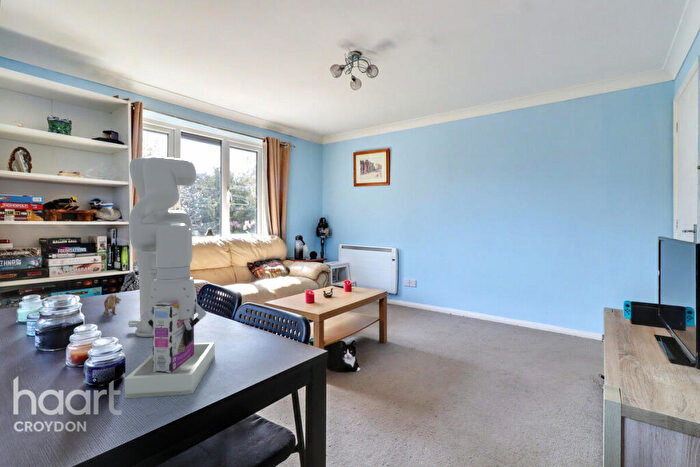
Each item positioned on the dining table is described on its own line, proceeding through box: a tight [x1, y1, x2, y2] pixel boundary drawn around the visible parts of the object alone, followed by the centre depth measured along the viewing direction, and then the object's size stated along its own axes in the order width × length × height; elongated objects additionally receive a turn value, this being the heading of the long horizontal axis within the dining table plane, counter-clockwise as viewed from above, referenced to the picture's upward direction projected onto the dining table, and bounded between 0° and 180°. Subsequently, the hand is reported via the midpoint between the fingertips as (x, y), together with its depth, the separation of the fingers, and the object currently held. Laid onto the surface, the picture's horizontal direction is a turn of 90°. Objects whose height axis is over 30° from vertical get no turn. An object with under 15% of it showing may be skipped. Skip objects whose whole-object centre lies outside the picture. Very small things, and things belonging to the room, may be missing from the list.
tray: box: [124, 341, 216, 399], centre depth 85 cm, size 14×20×4 cm
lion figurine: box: [103, 293, 122, 318], centre depth 139 cm, size 15×5×9 cm, turn 46°
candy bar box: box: [152, 302, 195, 373], centre depth 84 cm, size 11×5×16 cm, turn 178°
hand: (175, 343), depth 85 cm, fingers closed on candy bar box, 5 cm apart
